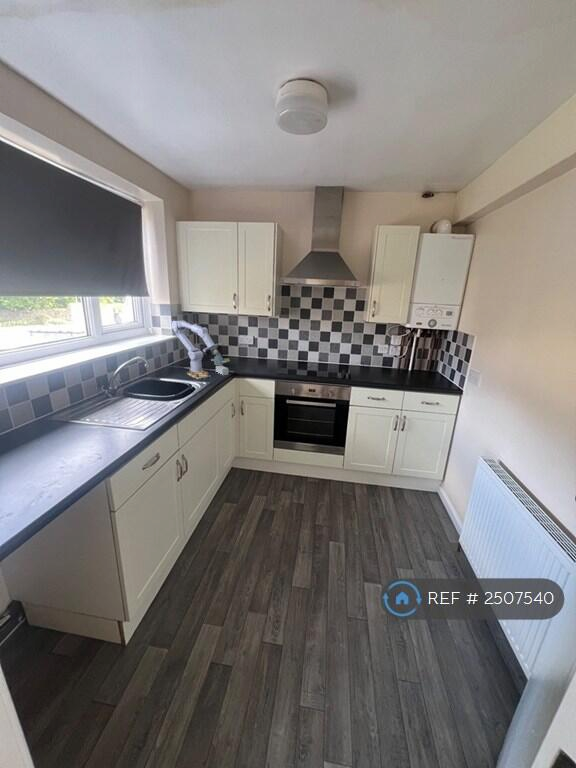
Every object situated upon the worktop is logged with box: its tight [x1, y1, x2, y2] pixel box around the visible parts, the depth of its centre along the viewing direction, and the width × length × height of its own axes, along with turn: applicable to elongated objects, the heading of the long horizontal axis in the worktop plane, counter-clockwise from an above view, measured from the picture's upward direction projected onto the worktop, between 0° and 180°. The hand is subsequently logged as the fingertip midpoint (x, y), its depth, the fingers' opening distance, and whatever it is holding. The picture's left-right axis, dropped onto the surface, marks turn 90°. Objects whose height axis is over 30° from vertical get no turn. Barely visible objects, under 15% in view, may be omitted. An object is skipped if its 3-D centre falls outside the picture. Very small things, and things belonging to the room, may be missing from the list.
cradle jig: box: [186, 369, 212, 380], centre depth 225 cm, size 18×11×3 cm, turn 40°
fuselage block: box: [215, 365, 229, 376], centre depth 234 cm, size 11×5×5 cm, turn 40°
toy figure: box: [210, 349, 230, 367], centre depth 255 cm, size 17×10×15 cm, turn 62°
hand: (217, 356), depth 226 cm, fingers open, 7 cm apart
